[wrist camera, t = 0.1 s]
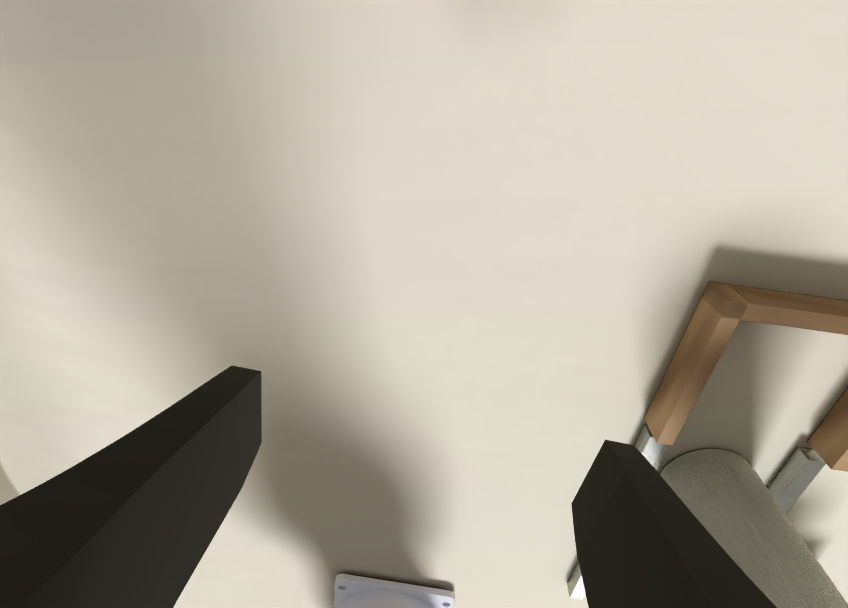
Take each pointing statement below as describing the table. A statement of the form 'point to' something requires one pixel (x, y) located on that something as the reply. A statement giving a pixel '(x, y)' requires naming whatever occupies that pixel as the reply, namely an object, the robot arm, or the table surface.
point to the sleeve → (782, 488)
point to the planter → (751, 527)
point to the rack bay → (707, 338)
